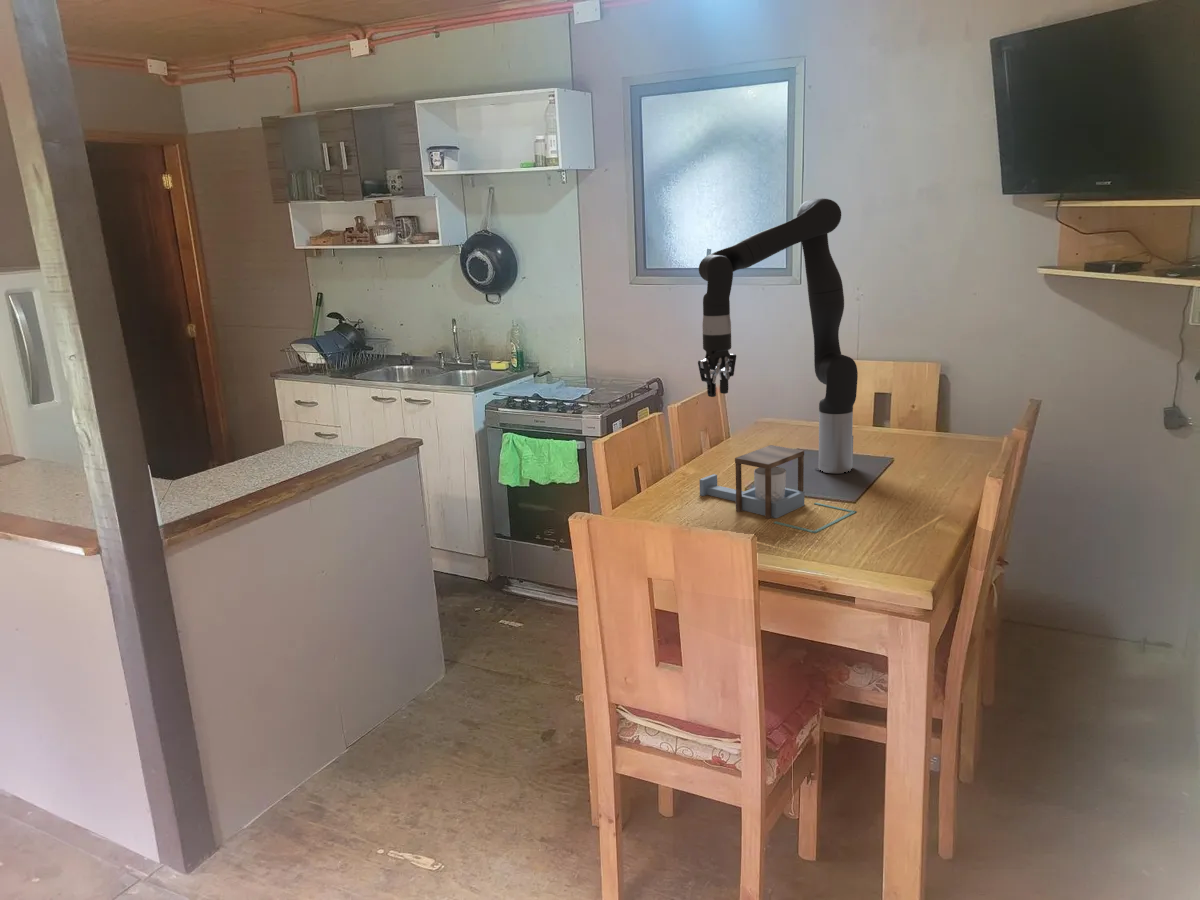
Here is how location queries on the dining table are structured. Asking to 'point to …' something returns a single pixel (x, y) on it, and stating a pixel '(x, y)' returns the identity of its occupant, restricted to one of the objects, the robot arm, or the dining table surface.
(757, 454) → the small brown wooden table
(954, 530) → the dining table surface
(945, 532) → the dining table surface
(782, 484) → the white cup
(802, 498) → the sled frame
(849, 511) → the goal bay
